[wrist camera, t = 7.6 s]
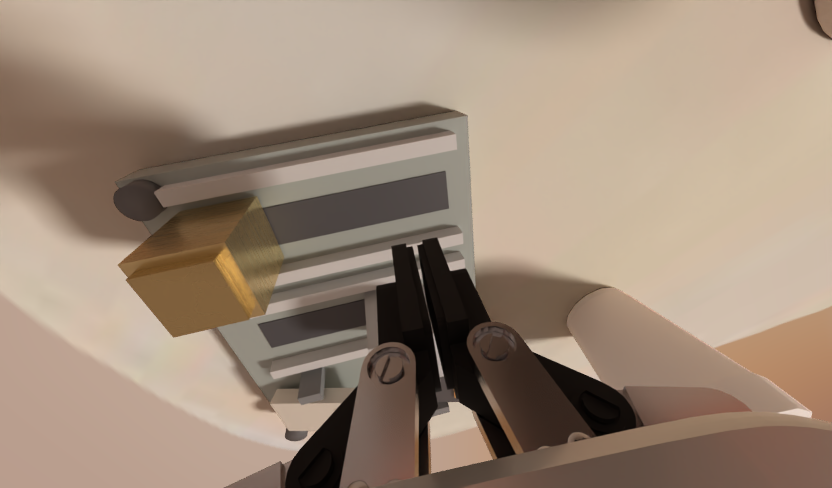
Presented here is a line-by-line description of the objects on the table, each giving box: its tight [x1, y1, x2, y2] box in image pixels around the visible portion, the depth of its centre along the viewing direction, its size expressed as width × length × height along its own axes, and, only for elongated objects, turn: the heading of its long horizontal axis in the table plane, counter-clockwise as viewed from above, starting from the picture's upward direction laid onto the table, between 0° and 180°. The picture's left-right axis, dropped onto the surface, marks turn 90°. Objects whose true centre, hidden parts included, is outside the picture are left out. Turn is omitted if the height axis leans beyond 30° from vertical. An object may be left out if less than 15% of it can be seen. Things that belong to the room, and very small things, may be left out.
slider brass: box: [118, 196, 284, 338], centre depth 15 cm, size 4×4×6 cm
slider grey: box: [364, 279, 444, 382], centre depth 20 cm, size 4×4×6 cm
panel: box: [113, 111, 476, 441], centre depth 22 cm, size 18×24×5 cm
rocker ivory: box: [270, 388, 355, 431], centre depth 24 cm, size 7×5×1 cm, turn 98°
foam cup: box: [567, 287, 812, 418], centre depth 25 cm, size 10×9×13 cm
